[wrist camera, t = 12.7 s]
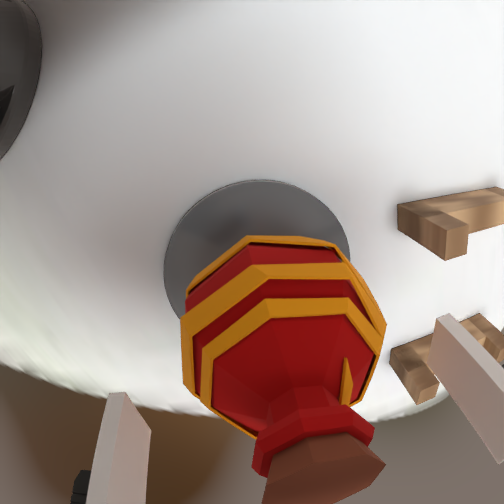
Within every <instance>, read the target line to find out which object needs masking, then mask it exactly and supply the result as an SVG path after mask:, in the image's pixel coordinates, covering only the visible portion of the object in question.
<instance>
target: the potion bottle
mask: <svg viewBox="0 0 504 504" xmlns="http://www.w3.org/2000/svg"><path fill="white" fill-rule="evenodd" d="M324 246H326V247H327V248H326V247H324ZM339 259H340V260H341V261H340V260H339ZM180 323H181V352H182V372H183V384H184V385H185V386H186V388H187V389H188V390H189V391H190V392H191V393H192V395H193V396H195V397H197V398H198V399H200V401H201V402H202V403H203V404H204V405H205V406H206V407H207V408H208V409H209V410H211V411H212V412H214V413H215V414H217V415H218V416H220V417H221V418H222V419H224V420H225V421H227V422H229V423H230V424H232V425H233V426H235V427H236V428H238V429H239V430H241V431H242V432H244V433H246V434H247V435H249V436H250V437H252V438H254V439H256V443H255V449H254V455H253V461H252V468H253V469H254V470H255V471H256V472H257V473H258V474H259V475H261V476H264V477H266V478H267V483H266V487H265V491H264V495H263V500H262V504H333V503H336V502H338V501H340V500H342V499H344V498H346V497H348V496H350V495H352V494H355V493H357V492H359V491H361V490H362V489H364V488H367V487H368V486H370V485H371V483H372V482H373V481H374V480H375V478H376V477H377V476H378V475H379V473H380V472H381V471H382V469H383V468H384V467H385V465H386V464H385V463H384V462H383V461H382V460H381V459H380V458H379V457H378V456H376V455H375V454H374V453H373V452H372V451H371V450H370V449H369V448H368V445H369V444H370V442H371V440H372V438H373V433H374V429H375V428H374V427H373V426H372V425H371V424H370V423H369V422H367V421H366V420H365V419H364V418H362V417H361V416H360V415H359V414H357V413H356V412H355V411H354V410H352V409H351V408H350V407H351V406H353V405H355V404H357V403H358V402H360V401H362V399H363V396H364V394H365V392H366V390H367V387H368V385H369V383H370V381H371V378H372V376H373V373H374V370H375V368H376V365H377V362H378V359H379V356H380V352H381V348H382V344H383V340H384V335H385V331H386V326H387V324H386V321H385V319H384V317H383V315H382V313H381V311H380V309H379V307H378V304H377V302H376V300H375V299H374V297H373V295H372V293H371V291H370V290H369V288H368V286H367V284H366V283H365V281H364V279H363V278H362V277H361V275H360V274H359V273H358V272H357V270H356V269H355V268H354V267H353V265H352V264H351V263H350V262H349V260H348V259H347V258H346V257H345V255H344V254H343V253H342V252H341V251H340V249H339V248H338V247H337V246H336V245H335V244H333V243H330V242H327V241H324V240H319V239H313V238H308V237H302V236H263V235H246V236H245V237H244V238H243V239H241V240H240V241H239V242H238V243H236V244H235V245H234V246H232V247H231V248H230V249H229V250H227V251H226V252H225V253H224V254H222V255H221V256H220V257H219V258H217V259H216V260H215V261H214V262H212V263H211V264H210V265H209V266H207V267H206V268H205V269H204V270H202V271H201V272H200V273H199V274H197V275H196V276H195V277H194V279H193V280H192V282H191V283H190V285H189V286H188V288H187V289H186V300H185V315H183V316H182V317H180Z"/></svg>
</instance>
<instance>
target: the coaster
mask: <svg viewBox="0 0 504 504" xmlns="http://www.w3.org/2000/svg"><path fill="white" fill-rule="evenodd" d="M246 235H263V236H302V237H308V238H313V239H319V240H324V241H327V242H330V243H333V244H335V245H336V246H337V247H338V248H339V249H340V251H341V252H342V253H343V254H344V255H345V257H346V258H347V259H348V260H349V262H350V252H349V246H348V242H347V238H346V235H345V233H344V231H343V228H342V226H341V225H340V223H339V221H338V220H337V218H336V217H335V215H334V214H333V213H332V212H331V211H330V210H329V208H328V207H326V206H325V205H324V204H323V203H322V202H321V201H320V200H318V199H317V198H316V197H314V196H312V195H311V194H309V193H308V192H306V191H305V190H302V189H300V188H298V187H296V186H293V185H290V184H287V183H283V182H278V181H271V180H251V181H243V182H239V183H235V184H231V185H228V186H226V187H223V188H221V189H218V190H216V191H214V192H213V193H211V194H209V195H207V196H206V197H204V198H203V199H202V200H200V201H199V202H198V203H197V204H195V205H194V206H193V207H192V208H191V209H190V210H189V211H188V212H187V213H186V214H185V216H184V217H183V218H182V220H181V221H180V223H179V224H178V225H177V227H176V229H175V231H174V233H173V235H172V237H171V240H170V243H169V246H168V249H167V251H166V256H165V262H164V283H165V289H166V293H167V297H168V299H169V302H170V304H171V306H172V308H173V310H174V312H175V313H176V315H177V316H178V318H179V319H180V317H182V316H183V315H185V300H186V289H187V288H188V286H189V285H190V283H191V282H192V280H193V279H194V277H195V276H196V275H197V274H199V273H200V272H201V271H202V270H204V269H205V268H206V267H207V266H209V265H210V264H211V263H212V262H214V261H215V260H216V259H217V258H219V257H220V256H221V255H222V254H224V253H225V252H226V251H227V250H229V249H230V248H231V247H232V246H234V245H235V244H236V243H238V242H239V241H240V240H241V239H243V238H244V237H245V236H246ZM324 247H326V246H324ZM326 248H327V247H326ZM339 260H340V259H339ZM340 261H341V260H340Z"/></svg>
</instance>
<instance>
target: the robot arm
mask: <svg viewBox="0 0 504 504" xmlns="http://www.w3.org/2000/svg"><path fill="white" fill-rule="evenodd" d="M41 49H42V47H41V34H40V28H39V25H38V22H37V19H36V17H35V15H34V13H33V11H32V10H31V9H30V7H29V6H28V5H26V4H25V3H24V2H22V1H21V0H0V159H1V158H2V157H3V156H4V154H5V153H6V152H7V150H8V149H9V147H10V146H11V145H12V143H13V141H14V140H15V138H16V136H17V135H18V133H19V131H20V129H21V127H22V125H23V123H24V121H25V118H26V116H27V114H28V111H29V109H30V106H31V103H32V100H33V97H34V94H35V90H36V86H37V82H38V77H39V71H40V64H41ZM427 365H428V366H429V367H430V368H431V370H432V371H433V372H434V374H435V375H436V376H437V378H438V379H439V380H440V382H441V383H442V384H443V386H444V387H445V388H446V390H447V391H448V392H449V394H450V395H451V396H452V398H453V399H454V401H455V402H456V403H457V405H458V406H459V407H460V409H461V410H462V411H463V413H464V414H465V416H466V417H467V419H468V420H469V422H470V423H471V424H472V426H473V427H474V429H475V430H476V432H477V433H478V435H479V436H480V438H481V439H482V441H483V442H484V444H485V445H486V446H487V448H488V449H489V451H490V453H491V454H492V456H493V457H494V459H495V460H496V462H497V463H498V465H499V464H500V463H502V462H503V461H504V365H502V366H500V364H499V363H498V362H497V361H496V360H495V359H494V358H493V357H492V356H491V355H490V354H489V353H488V351H487V350H486V349H485V348H484V347H483V346H482V345H481V344H480V343H479V342H478V341H477V340H476V339H475V338H474V337H473V336H472V335H471V334H470V333H469V332H468V331H467V330H466V329H465V328H464V327H463V326H462V325H461V324H460V323H459V322H458V321H457V320H456V319H455V318H454V317H453V316H452V315H451V314H450V313H448V314H446V315H444V316H441V317H438V318H436V323H435V328H434V333H433V338H432V342H431V347H430V351H429V355H428V359H427ZM150 435H151V429H150V428H149V427H148V425H147V424H146V422H145V421H144V419H143V418H142V417H141V415H140V414H139V412H138V411H137V409H136V408H135V406H134V405H133V403H132V401H131V400H130V398H129V397H128V395H127V394H126V392H118V393H109V396H108V400H107V404H106V408H105V412H104V416H103V420H102V424H101V428H100V433H99V437H98V442H97V447H96V451H95V456H94V461H93V466H92V471H88V470H81V471H80V473H79V474H78V476H77V477H76V479H75V481H74V486H73V494H72V496H71V504H145V500H146V483H147V469H148V456H149V445H150Z"/></svg>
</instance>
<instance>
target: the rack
mask: <svg viewBox="0 0 504 504" xmlns="http://www.w3.org/2000/svg"><path fill="white" fill-rule="evenodd" d="M397 210H398V230H399V231H401V232H402V233H404V234H405V235H407V236H409V237H410V238H412V239H413V240H415V241H416V242H418V243H419V244H421V245H422V246H424V247H425V248H427V249H428V250H430V251H431V252H433V253H434V254H435V255H437V256H438V257H440V258H441V259H443V260H444V261H446V260H449V259H452V258H455V257H459V256H462V255H465V254H466V253H467V244H468V234H470V233H474V232H477V231H481V230H484V229H488V228H491V227H495V226H498V225H502V224H504V189H501V188H498V187H493V188H487V189H481V190H475V191H469V192H464V193H458V194H452V195H446V196H441V197H435V198H430V199H424V200H419V201H413V202H408V203H402V204H397ZM459 323H460V324H461V325H462V326H463V327H464V328H465V329H466V330H467V331H468V332H469V333H470V334H471V335H472V336H473V337H474V338H475V339H476V340H477V341H478V342H479V343H480V344H481V345H482V346H483V347H484V348H485V349H486V350H487V351H488V353H489V354H490V355H491V356H492V357H493V358H494V359H495V360H496V361H497V362H498V363H499V362H500V361H502V360H504V335H503V334H502V333H501V332H500V331H499V330H498V329H497V328H496V327H495V326H494V325H492V324H491V323H490V322H489V321H488V320H487V319H486V318H485V317H483V316H482V315H481V314H480V313H479V314H477V315H475V316H472V317H470V318H468V319H466V320H464V321H461V322H459ZM432 338H433V334H430V335H428V336H425V337H423V338H420V339H417V340H415V341H412V342H409V343H407V344H404V345H401V346H398V347H395V348H393V349H391V355H390V363H389V364H390V365H391V367H392V368H393V370H394V371H395V373H396V374H397V376H398V377H399V379H400V380H401V382H402V383H403V385H404V386H405V388H406V389H407V391H408V393H409V394H410V396H411V397H412V399H413V400H414V402H415V403H416V405H418V404H421V403H423V402H425V401H427V400H429V399H432V398H434V397H435V395H436V392H437V389H438V386H439V383H440V382H439V381H438V380H437V378H436V377H435V376H434V372H433V371H432V370H431V368H430V367H429V366H428V365H427V359H428V355H429V351H430V347H431V342H432Z"/></svg>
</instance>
